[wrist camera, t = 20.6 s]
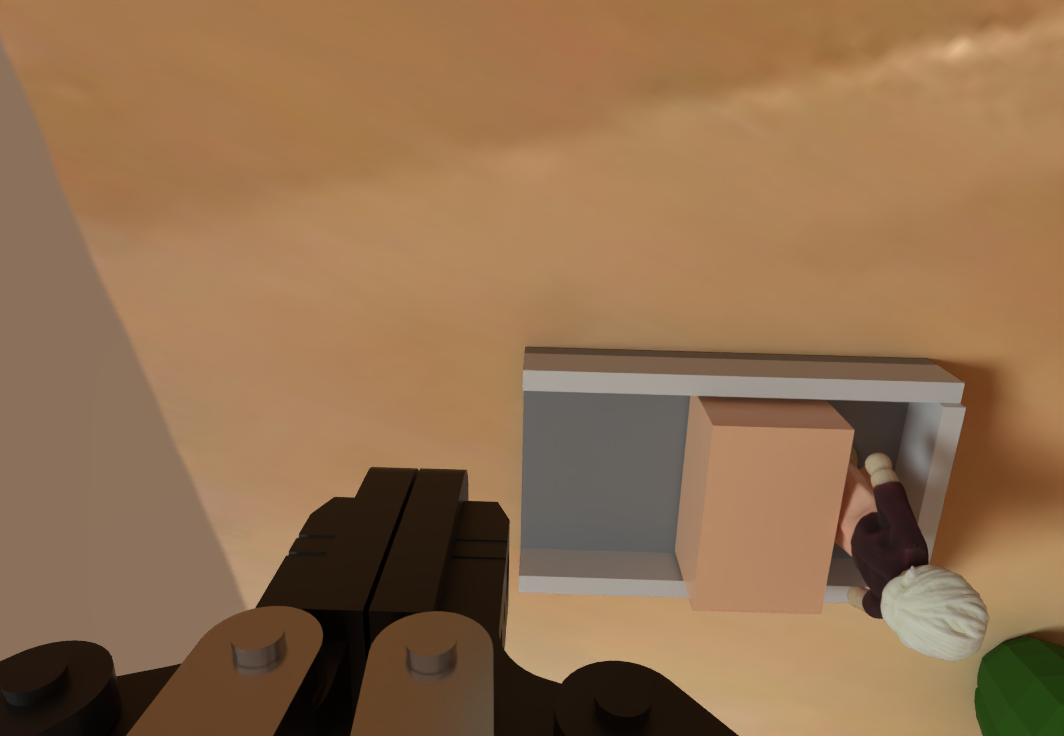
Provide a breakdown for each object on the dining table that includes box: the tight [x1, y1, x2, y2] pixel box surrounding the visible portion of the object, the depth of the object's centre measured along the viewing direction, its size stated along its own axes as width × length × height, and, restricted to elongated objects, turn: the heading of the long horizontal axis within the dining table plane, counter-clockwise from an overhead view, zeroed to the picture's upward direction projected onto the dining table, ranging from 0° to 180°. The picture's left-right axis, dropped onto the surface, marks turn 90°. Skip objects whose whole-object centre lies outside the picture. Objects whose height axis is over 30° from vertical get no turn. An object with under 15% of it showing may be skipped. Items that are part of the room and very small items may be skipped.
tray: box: [519, 347, 966, 603], centre depth 37 cm, size 20×12×4 cm, turn 89°
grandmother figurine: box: [834, 446, 989, 661], centre depth 32 cm, size 8×4×13 cm, turn 14°
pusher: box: [675, 396, 855, 615], centre depth 35 cm, size 6×9×5 cm, turn 179°
